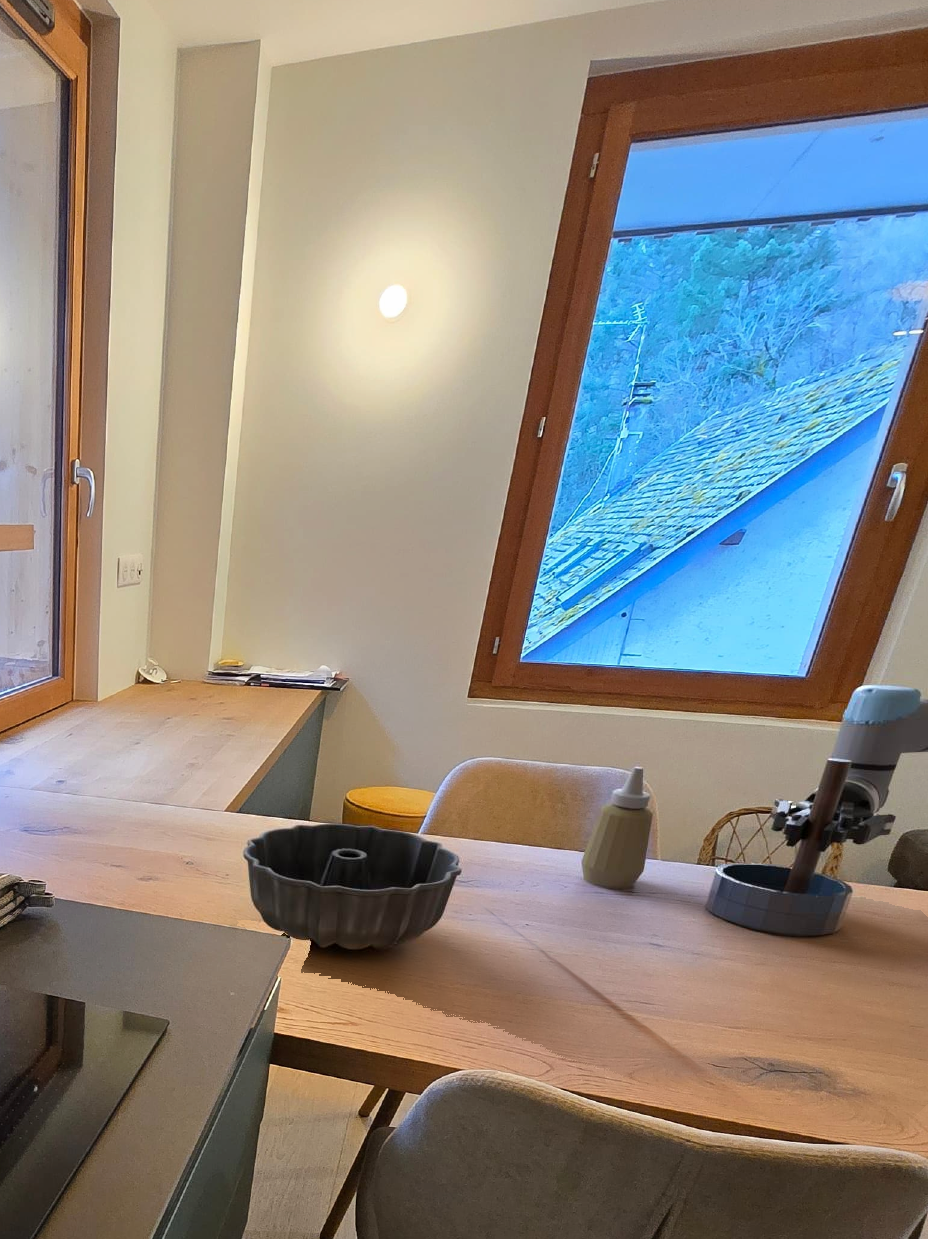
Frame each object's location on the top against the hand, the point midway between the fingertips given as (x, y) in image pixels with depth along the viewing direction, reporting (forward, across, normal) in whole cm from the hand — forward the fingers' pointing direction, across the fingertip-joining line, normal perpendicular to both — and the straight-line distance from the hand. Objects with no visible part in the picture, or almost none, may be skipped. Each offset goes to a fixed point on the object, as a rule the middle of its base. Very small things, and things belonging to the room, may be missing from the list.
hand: (808, 838), depth 119 cm
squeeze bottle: (-5, +22, -13) cm, 26 cm away
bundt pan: (+39, +41, -13) cm, 58 cm away
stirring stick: (-5, 0, -11) cm, 12 cm away
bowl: (-6, +2, -13) cm, 14 cm away
